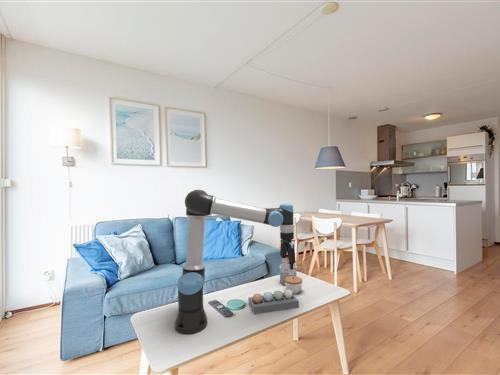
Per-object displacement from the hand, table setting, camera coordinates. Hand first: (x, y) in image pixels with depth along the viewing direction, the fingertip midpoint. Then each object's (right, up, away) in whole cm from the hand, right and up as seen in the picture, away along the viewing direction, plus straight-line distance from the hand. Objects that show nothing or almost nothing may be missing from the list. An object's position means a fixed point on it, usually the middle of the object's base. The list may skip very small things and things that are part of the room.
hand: (287, 272), depth 142 cm
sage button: (-5, -14, -1) cm, 15 cm away
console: (-8, -18, -2) cm, 20 cm away
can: (+5, -17, +28) cm, 33 cm away
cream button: (0, -14, 0) cm, 14 cm away
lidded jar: (+6, -17, +15) cm, 24 cm away
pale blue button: (-11, -14, -3) cm, 19 cm away
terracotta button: (-17, -15, -4) cm, 23 cm away
